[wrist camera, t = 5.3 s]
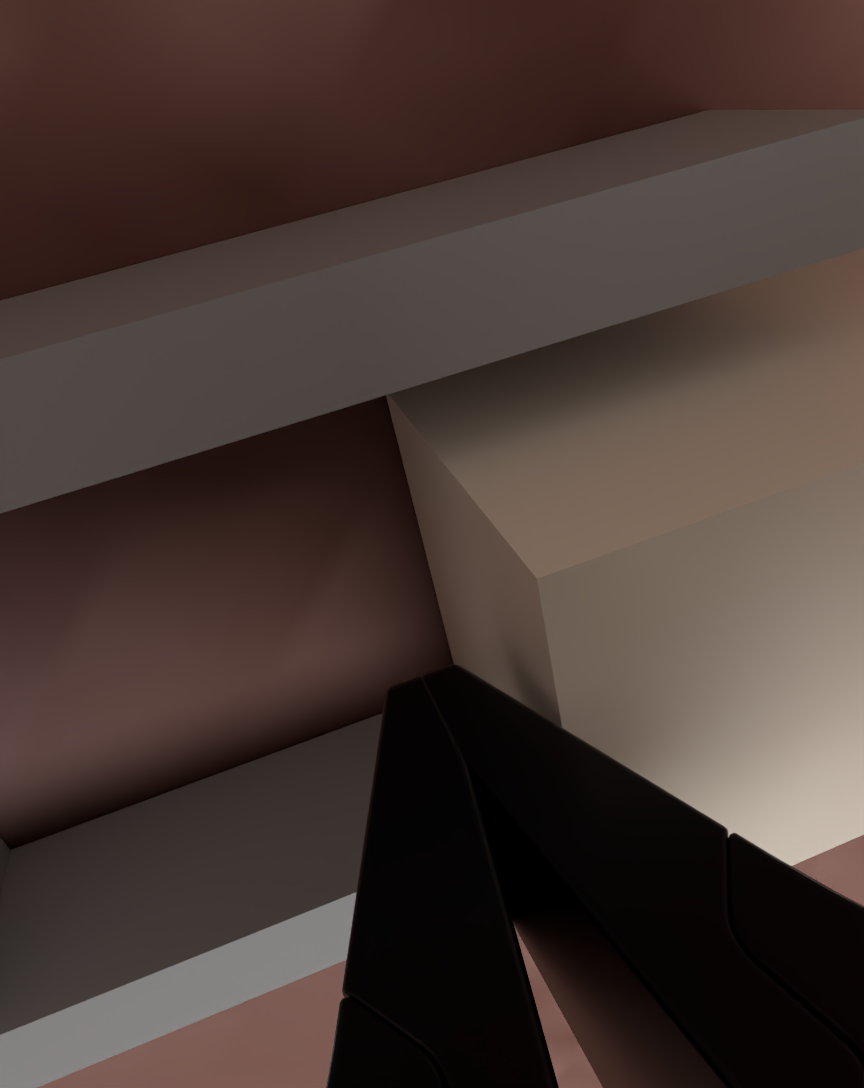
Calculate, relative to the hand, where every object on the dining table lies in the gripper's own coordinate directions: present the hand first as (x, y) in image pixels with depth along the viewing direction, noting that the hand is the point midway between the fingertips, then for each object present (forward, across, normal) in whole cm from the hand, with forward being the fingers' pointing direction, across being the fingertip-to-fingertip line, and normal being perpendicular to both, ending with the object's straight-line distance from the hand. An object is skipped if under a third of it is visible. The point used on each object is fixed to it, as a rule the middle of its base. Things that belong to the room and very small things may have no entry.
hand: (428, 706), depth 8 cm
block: (+4, -6, 0) cm, 7 cm away
